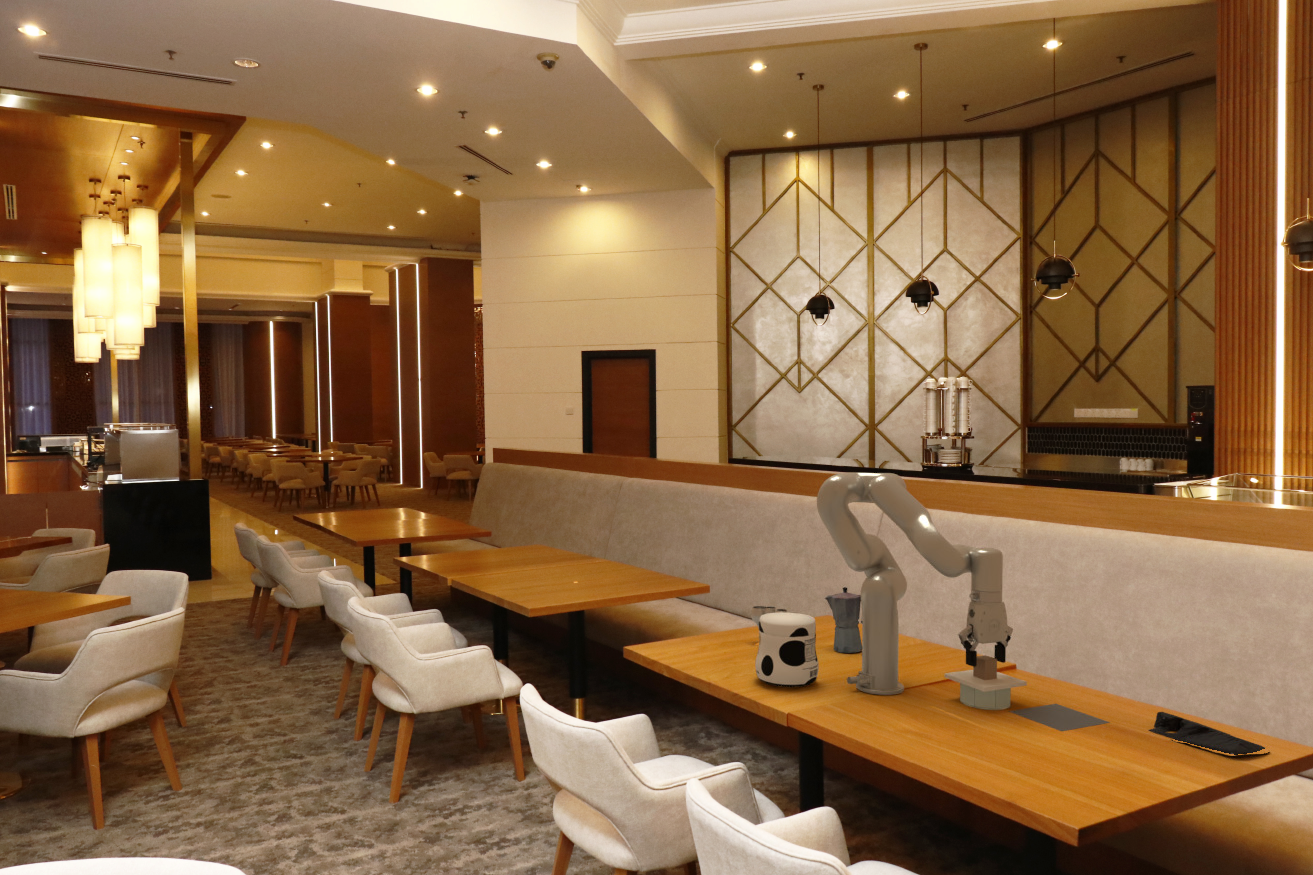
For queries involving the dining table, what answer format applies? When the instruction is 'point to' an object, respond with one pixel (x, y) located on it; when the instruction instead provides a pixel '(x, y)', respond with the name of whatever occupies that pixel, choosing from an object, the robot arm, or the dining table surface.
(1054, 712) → the mat
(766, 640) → the milk container
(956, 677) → the lid
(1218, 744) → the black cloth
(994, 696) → the bowl
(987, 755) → the dining table surface
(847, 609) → the moka pot
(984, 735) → the dining table surface
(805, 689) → the dining table surface
